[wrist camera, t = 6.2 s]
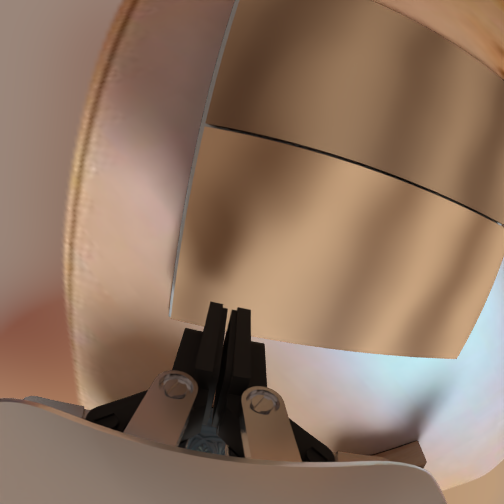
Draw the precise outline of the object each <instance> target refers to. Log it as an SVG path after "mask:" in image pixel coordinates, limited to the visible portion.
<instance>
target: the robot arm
mask: <svg viewBox="0 0 504 504" xmlns="http://www.w3.org/2000/svg"><path fill="white" fill-rule="evenodd" d="M227 312H228V309H227V308H223V304H220V303H216V302H211V301H210V305H209V309H208V314H207V318H206V322H205V326H204V331H203V332H202V331H197V330H193V329H188V328H185V331H184V334H183V337H182V340H181V343H180V346H179V349H178V352H177V356H176V359H175V362H174V365H173V369H172V370H170V371H165V372H163V373H161V374H159V375H158V376H157V377H156V378H155V380H154V381H153V383H152V385H151V386H150V388H149V390H146V391H144V392H141V393H138V394H135V395H132V396H129V397H126V398H123V399H120V400H117V401H114V402H111V403H108V404H105V405H101V406H98V407H96V408H94V409H92V410H86V409H84V406H79V405H74V404H69V403H64V402H59V401H54V400H50V399H46V398H42V397H38V396H29V397H26V398H24V399H23V400H22V399H14V398H0V504H447V502H446V500H445V497H444V495H443V493H442V491H441V489H440V487H439V485H438V483H437V481H436V480H435V478H434V477H433V476H432V475H431V474H430V473H429V472H428V471H427V470H425V469H423V468H421V467H418V466H415V465H411V464H407V463H402V462H393V461H390V460H388V459H386V458H383V457H376V456H368V455H361V454H355V453H348V452H343V451H338V452H337V453H333V452H332V451H331V450H330V449H329V448H328V447H327V446H325V445H324V444H323V443H321V442H320V441H318V440H317V439H316V438H314V437H313V436H312V435H310V434H309V433H308V432H306V431H305V430H304V429H302V428H301V427H300V426H299V425H297V424H296V423H295V422H293V421H292V420H291V419H290V418H289V417H288V414H287V411H286V407H285V404H284V401H283V399H282V397H281V396H280V395H279V394H278V393H277V392H275V391H274V390H272V389H270V388H267V378H266V361H265V345H264V343H258V342H252V341H251V310H250V309H245V308H240V307H238V308H237V310H232V311H231V315H230V319H229V323H228V328H227V332H226V336H225V340H224V335H225V327H226V319H227ZM223 342H224V345H223ZM215 390H216V393H215ZM214 395H215V401H214V409H213V417H212V426H213V427H217V429H216V435H218V436H219V437H220V438H221V439H222V440H223V441H224V442H225V455H218V454H211V453H206V452H200V451H195V450H189V449H186V448H187V446H188V443H189V439H190V438H191V437H193V436H195V435H197V434H199V433H201V428H202V425H207V424H208V419H209V415H210V411H211V407H212V403H213V399H214Z"/></svg>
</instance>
